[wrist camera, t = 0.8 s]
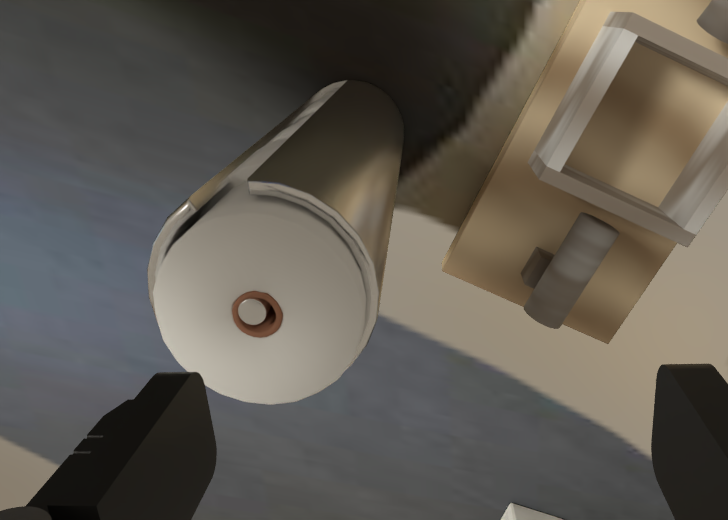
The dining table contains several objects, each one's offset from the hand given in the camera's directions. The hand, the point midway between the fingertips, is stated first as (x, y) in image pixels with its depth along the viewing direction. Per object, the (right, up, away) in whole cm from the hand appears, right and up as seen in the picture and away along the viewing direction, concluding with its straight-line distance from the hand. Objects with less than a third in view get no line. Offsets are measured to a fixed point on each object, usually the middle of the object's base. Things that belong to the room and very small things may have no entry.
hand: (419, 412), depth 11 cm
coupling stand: (+15, +11, +27) cm, 32 cm away
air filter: (-2, +11, +29) cm, 30 cm away
